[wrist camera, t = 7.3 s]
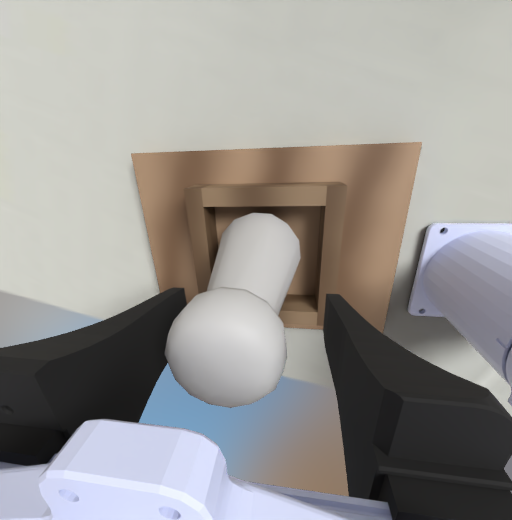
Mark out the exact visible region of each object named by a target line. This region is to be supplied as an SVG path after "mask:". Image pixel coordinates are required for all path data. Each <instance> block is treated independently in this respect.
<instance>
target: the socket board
mask: <svg viewBox="0 0 512 520" xmlns="http://www.w3.org/2000/svg"><path fill="white" fill-rule="evenodd" d="M421 145H422V142H412V143H387V144H361V145H336V146H311V147H286V148H260V149H235V150H210V151H185V152H160V153H134V154H131V156H132V161H133V165H134V170H135V175H136V180H137V184H138V189H139V194H140V199H141V203H142V208H143V213H144V218H145V222H146V227H147V232H148V237H149V241H150V246H151V251H152V256H153V260H154V265H155V270H156V275H157V280H158V284H159V289H160V293H162V292H164V291H166V290H168V289H170V288H173V287H175V288H184V290H185V296H186V302H187V305H188V303H189V302H190V301H191V300H192V299H193V298H194V297H195V296H196V295H198V294H200V293H203V292H206V291H207V288H208V285H209V281H210V278H211V274H212V271H213V267H214V264H215V260H216V257H217V253H218V249H219V245H220V241H221V237H222V233H223V232H224V231H225V230H226V229H227V227H228V226H229V225H230V224H231V223H232V222H233V220H235V219H237V218H240V217H243V216H245V215H248V214H251V213H265V214H273V215H274V216H276V217H277V218H279V219H281V220H282V221H284V222H286V223H287V224H288V225H289V227H290V228H291V229H292V231H293V232H294V234H295V235H296V237H297V238H298V239H299V246H300V257H301V258H300V261H299V264H298V266H297V269H296V272H295V274H294V277H293V279H292V282H291V284H290V287H289V289H288V292H287V294H286V297H285V300H284V302H283V305H282V307H281V310H280V312H279V315H278V316H279V317H280V319H281V320H282V322H283V325H284V327H287V328H305V329H323V324H324V313H325V302H326V294H340V295H341V296H342V297H343V298H344V299H345V300H346V301H347V302H348V303H349V304H350V305H351V306H352V307H353V308H354V309H355V310H356V311H357V312H358V313H359V314H360V315H361V316H362V317H363V318H364V319H365V320H367V321H368V322H369V323H370V324H371V325H372V326H374V327H375V328H376V329H377V330H379V331H380V332H381V333H383V330H384V325H385V320H386V316H387V311H388V306H389V301H390V296H391V291H392V286H393V282H394V277H395V272H396V267H397V262H398V257H399V252H400V247H401V243H402V238H403V233H404V228H405V223H406V218H407V213H408V209H409V204H410V199H411V194H412V189H413V184H414V179H415V175H416V170H417V165H418V160H419V155H420V150H421Z"/></svg>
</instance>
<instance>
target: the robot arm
mask: <svg viewBox="0 0 512 520" xmlns="http://www.w3.org/2000/svg"><path fill="white" fill-rule="evenodd" d="M442 228H445V230H444V232H442V233H440V230H441V229H442ZM186 306H187V302H186V296H185V290H184V288H175V287H173V288H170V289H168V290H166V291H164V292H162V293H160V294H158V295H156V296H154V297H152V298H150V299H148V300H146V301H145V302H143V303H141V304H139V305H137V306H135V307H133V308H130V309H128V310H126V311H124V312H122V313H120V314H118V315H116V316H113V317H111V318H109V319H106V320H104V321H101V322H98V323H96V324H93V325H90V326H87V327H84V328H81V329H78V330H75V331H72V332H69V333H65V334H61V335H58V336H54V337H50V338H46V339H42V340H38V341H34V342H29V343H24V344H19V345H14V346H9V347H4V348H0V520H512V493H511V492H510V491H512V481H511V479H510V478H509V476H508V475H507V473H506V472H505V470H504V467H505V465H506V464H507V462H508V460H509V458H510V457H511V455H512V417H511V416H510V414H509V413H508V412H507V411H506V410H505V408H504V407H503V406H502V405H501V404H500V402H499V401H498V400H497V399H496V398H495V396H494V395H493V394H492V393H491V392H490V391H489V390H488V389H487V388H484V387H482V386H480V385H477V384H475V383H473V382H470V381H468V380H465V379H463V378H461V377H458V376H456V375H454V374H451V373H449V372H447V371H445V370H443V369H441V368H439V367H437V366H435V365H433V364H431V363H429V362H427V361H425V360H424V359H422V358H420V357H418V356H416V355H415V354H413V353H411V352H410V351H408V350H406V349H404V348H403V347H401V346H400V345H398V344H397V343H395V342H394V341H392V340H391V339H389V338H388V337H387V336H385V335H384V334H382V333H381V332H380V331H379V330H377V329H376V328H375V327H374V326H372V325H371V324H370V323H369V322H368V321H367V320H365V319H364V318H363V317H362V316H361V315H360V314H359V313H358V312H357V311H356V310H355V309H354V308H353V307H352V306H351V305H350V304H349V303H348V302H347V301H346V300H345V299H344V298H343V297H342V296H341V295H340V294H326V302H325V313H324V324H323V332H324V341H325V348H326V353H327V357H328V361H329V365H330V369H331V374H332V378H333V382H334V386H335V390H336V395H337V400H338V408H339V415H340V422H341V431H342V438H343V445H344V455H345V464H346V472H347V481H348V491H349V497H348V496H341V495H334V494H327V493H321V492H315V491H307V490H301V489H294V488H287V487H281V486H274V485H267V484H260V483H254V482H247V481H244V480H241V479H238V478H236V477H233V476H230V475H228V474H227V466H226V460H225V458H224V456H223V454H222V452H221V451H220V449H219V447H218V445H217V444H216V443H215V442H213V441H212V440H211V439H209V438H207V437H206V436H205V435H204V434H201V433H198V432H195V431H191V430H188V429H184V428H176V427H168V426H160V425H151V424H143V423H138V422H139V420H140V417H141V415H142V413H143V410H144V408H145V406H146V404H147V401H148V399H149V397H150V395H151V393H152V391H153V388H154V386H155V384H156V382H157V380H158V378H159V376H160V375H161V373H162V371H163V369H164V368H165V366H166V365H167V363H168V361H167V359H166V356H165V348H166V343H167V337H168V333H169V331H170V328H171V326H172V323H173V321H174V319H175V318H176V317H177V316H178V315H179V313H180V312H181V311H182V310H183V309H184V308H185V307H186ZM420 309H423V310H422V311H419V310H420ZM408 312H409V313H410V314H411V315H414V316H434V317H446V319H447V320H448V321H449V322H450V323H451V324H452V325H453V326H454V327H455V328H456V329H457V330H458V331H459V332H460V333H461V334H462V335H463V337H464V338H465V339H466V340H467V341H468V342H469V343H470V344H471V345H472V346H473V347H474V348H475V349H476V350H477V351H478V352H479V353H480V355H481V356H482V357H483V358H484V359H485V360H486V361H487V362H488V363H489V364H490V365H491V366H492V367H493V368H494V369H495V370H496V371H497V373H498V374H499V375H500V376H501V377H502V378H503V379H504V380H505V381H506V382H507V383H508V384H509V385H510V386H511V395H510V397H509V399H508V402H509V403H510V405H511V406H512V223H434V224H431V225H430V226H429V227H428V228H427V230H426V235H425V239H424V243H423V247H422V251H421V255H420V259H419V264H418V268H417V272H416V276H415V280H414V284H413V288H412V292H411V297H410V301H409V305H408Z"/></svg>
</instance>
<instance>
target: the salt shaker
mask: <svg viewBox="0 0 512 520" xmlns="http://www.w3.org/2000/svg"><path fill="white" fill-rule="evenodd" d="M300 258H301V257H300V246H299V239H298V238H297V237H296V235H295V234H294V232H293V231H292V229H291V228H290V227H289V225H288V224H287V223H286V222H284V221H282V220H281V219H279V218H277V217H276V216H274V215H273V214H265V213H251V214H248V215H245V216H243V217H240V218H237V219H235V220H233V222H232V223H231V224H230V225H229V226H228V227H227V229H226V230H225V231H224V232H223V233H222V237H221V241H220V245H219V249H218V253H217V257H216V260H215V264H214V267H213V271H212V274H211V278H210V281H209V285H208V288H207V291H206V292H203V293H200V294H198V295H196V296H195V297H194V298H193V299H192V300H191V301H190V302H189V303H188V305H187V306H186V307H185V308H184V309H183V310H182V311H181V312H180V313H179V315H178V316H177V317H176V318H175V319H174V321H173V323H172V326H171V328H170V331H169V333H168V337H167V343H166V348H165V356H166V359H167V361H168V364H169V366H170V369H171V371H172V373H173V376H174V378H175V380H176V381H177V382H178V383H179V384H180V385H181V386H182V387H183V388H184V389H185V390H186V391H187V392H188V393H189V394H190V395H192V396H194V397H196V398H198V399H200V400H202V401H204V402H206V403H208V404H211V405H218V406H223V407H229V408H232V407H237V406H242V405H249V404H252V403H254V402H256V401H258V400H260V399H261V398H263V397H264V396H266V395H267V394H269V393H270V392H272V391H274V390H275V389H276V386H277V384H278V381H279V380H280V377H281V375H282V373H283V370H284V367H285V363H286V359H287V348H286V339H285V332H284V325H283V322H282V320H281V319H280V317H279V316H278V315H279V312H280V310H281V307H282V305H283V302H284V300H285V297H286V294H287V292H288V289H289V287H290V284H291V282H292V279H293V277H294V274H295V272H296V269H297V266H298V264H299V261H300Z"/></svg>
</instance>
